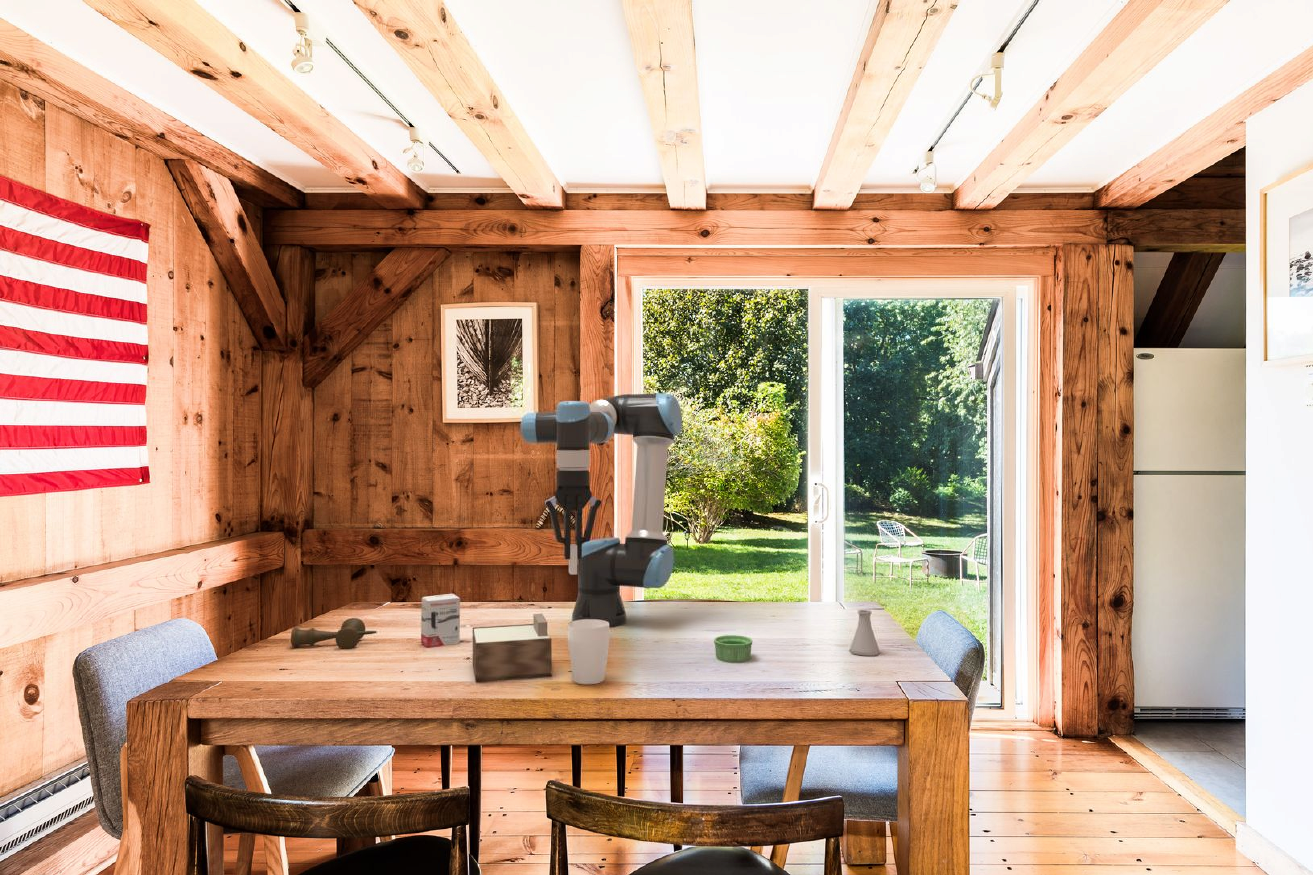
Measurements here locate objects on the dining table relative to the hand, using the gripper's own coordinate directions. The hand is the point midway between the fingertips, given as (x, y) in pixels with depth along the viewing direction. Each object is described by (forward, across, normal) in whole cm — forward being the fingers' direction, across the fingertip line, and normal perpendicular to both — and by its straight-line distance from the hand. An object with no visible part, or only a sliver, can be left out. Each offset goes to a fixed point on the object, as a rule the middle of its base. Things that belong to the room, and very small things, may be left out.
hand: (572, 573), depth 184 cm
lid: (+14, +14, 0) cm, 19 cm away
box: (+21, +14, 0) cm, 25 cm away
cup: (+21, -2, +12) cm, 24 cm away
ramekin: (+21, -37, +4) cm, 43 cm away
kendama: (+21, +54, -34) cm, 67 cm away
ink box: (+21, +29, -28) cm, 46 cm away
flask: (+21, -69, +8) cm, 73 cm away
